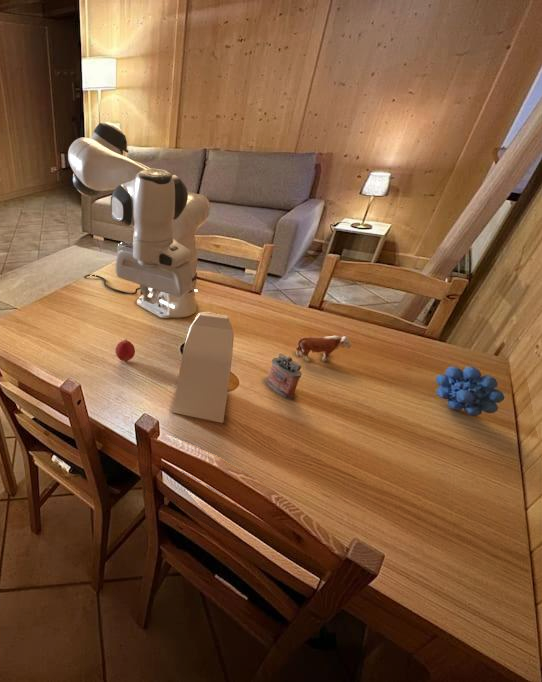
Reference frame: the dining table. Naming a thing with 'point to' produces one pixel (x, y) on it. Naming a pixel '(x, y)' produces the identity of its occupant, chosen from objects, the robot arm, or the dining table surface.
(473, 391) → the grapes
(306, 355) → the bull figurine
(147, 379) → the dining table surface
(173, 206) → the robot arm
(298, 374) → the red grey filled tin
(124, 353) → the onion
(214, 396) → the milk
